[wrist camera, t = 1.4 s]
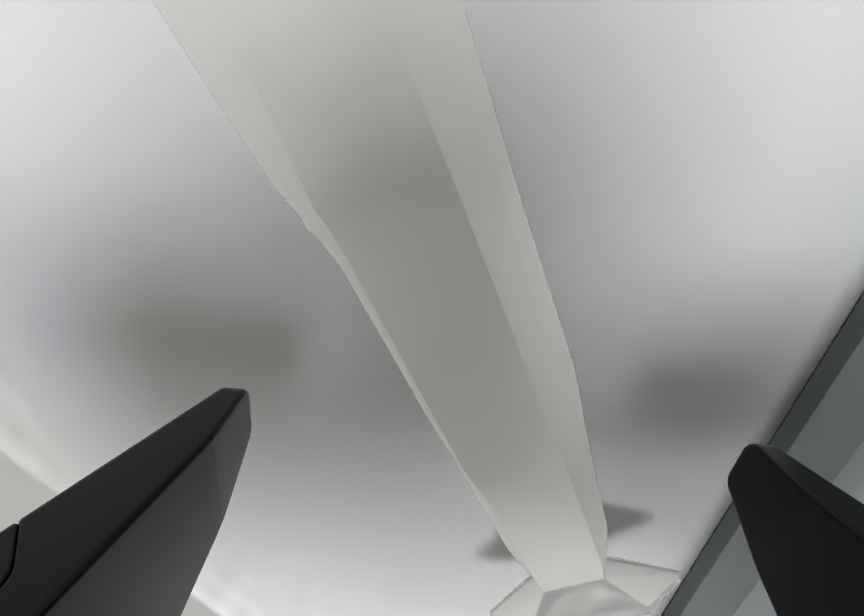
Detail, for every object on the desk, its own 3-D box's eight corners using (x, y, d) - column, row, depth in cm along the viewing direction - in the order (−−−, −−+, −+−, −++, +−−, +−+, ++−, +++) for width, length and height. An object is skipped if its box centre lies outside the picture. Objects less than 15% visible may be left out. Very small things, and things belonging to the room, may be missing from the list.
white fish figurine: (454, -194, 8) (467, -377, 4) (655, 524, 16) (716, 663, 12) (162, -33, 9) (-21, -74, 5) (491, 562, 17) (504, 700, 13)
